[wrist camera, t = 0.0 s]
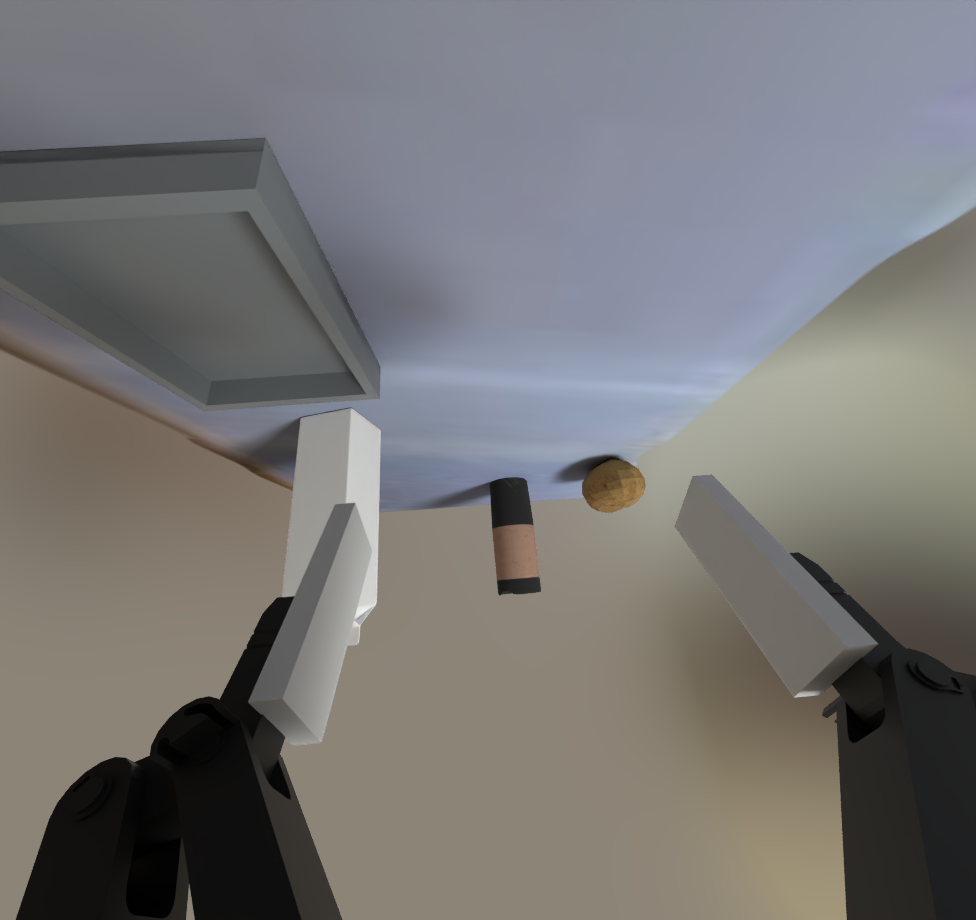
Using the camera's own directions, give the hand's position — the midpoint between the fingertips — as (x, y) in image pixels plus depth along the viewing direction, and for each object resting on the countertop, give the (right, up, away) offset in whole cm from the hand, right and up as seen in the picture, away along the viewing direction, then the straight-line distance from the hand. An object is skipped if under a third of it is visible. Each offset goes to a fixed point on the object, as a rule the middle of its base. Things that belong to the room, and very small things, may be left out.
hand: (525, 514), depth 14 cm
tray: (-17, +12, +7) cm, 23 cm away
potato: (+19, +2, +46) cm, 50 cm away
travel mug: (+2, -2, +53) cm, 54 cm away
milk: (-17, +6, +25) cm, 31 cm away
